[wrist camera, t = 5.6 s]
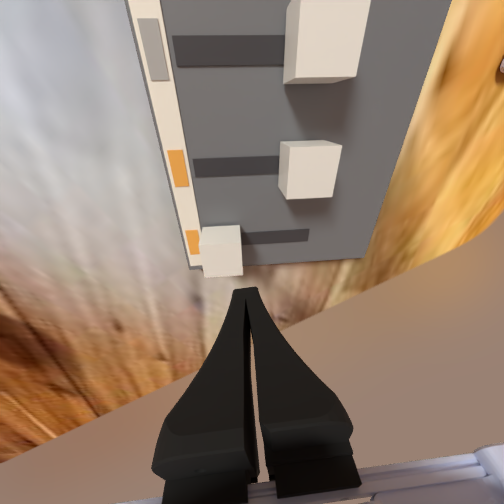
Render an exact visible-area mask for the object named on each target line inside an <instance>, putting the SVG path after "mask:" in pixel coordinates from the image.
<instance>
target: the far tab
mask: <svg viewBox="0 0 504 504" xmlns="http://www.w3.org/2000/svg"><path fill="white" fill-rule="evenodd" d="M198 246H199V251H200V256H201V261H202V266H203V272H204V277H205V278H209V277H223V276H237V275H243V266H242V250H241V235H240V225H231V226H214V227H203V228H202V232H201V237H200V241H199V245H198Z"/></svg>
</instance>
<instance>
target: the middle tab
mask: <svg viewBox="0 0 504 504" xmlns="http://www.w3.org/2000/svg"><path fill="white" fill-rule="evenodd" d="M341 150H342V145H339V144H336V143H333V142H329V141H326V140H309V141H281V142H280V158H279V179H278V187H279V189H280V190H281V192H282V193H283V195H284V196H285V198H286V199H305V198H324V197H332V195H333V190H334V185H335V180H336V175H337V170H338V165H339V160H340V155H341Z"/></svg>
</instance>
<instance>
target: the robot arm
mask: <svg viewBox="0 0 504 504" xmlns="http://www.w3.org/2000/svg"><path fill="white" fill-rule="evenodd" d="M500 71H501V72H502V73H504V59H503V61H502V63H501V66H500ZM250 328H251V330H250ZM251 334H252V339H253V344H254V356H255V369H256V382H257V395H258V408H259V422H260V427H261V432H262V437H263V441H264V450H265V460H266V467H267V469H268V474H269V480H270V481H269V482H262V483H257V482H258V479H257V477H258V475H259V473H260V470H259V459H258V449H257V439H256V427H255V416H254V405H253V396H252V395H253V394H252V384H251V383H252V382H251V357H250V356H251ZM352 432H353V425H352V422H351V420H350V418H349V416H348V414H347V412H346V410H345V409H344V407H343V405H342V404H341V402H340V400H339V399H338V397H337V396H336V394H335V393H334V392H333V391H332V390H331V389H329V388H328V387H327V386H326V385H325V384H324V383H323V382H322V381H321V380H320V379H319V378H318V377H317V376H316V375H315V374H314V372H312V370H311V369H310V368H309V367H308V366H307V365H306V364H305V363H304V362H303V360H302V359H301V358H300V357H299V356H298V355H297V354H296V352H294V350H293V349H292V347H291V346H290V345H289V344H288V342H287V341H286V340H285V338H284V337H283V336H282V334H281V333H280V331H279V330H278V328H277V327H276V325H275V323H274V322H273V320H272V319H271V317H270V315H269V313H268V311H267V310H266V308H265V306H264V304H263V302H262V299H261V297H260V294H259V291H258V288H257V287H249V288H241V289H234V290H233V294H232V299H231V302H230V306H229V309H228V312H227V315H226V317H225V320H224V323H223V325H222V328H221V330H220V332H219V335H218V337H217V339H216V341H215V343H214V345H213V347H212V349H211V351H210V353H209V354H208V356H207V358H206V360H205V361H204V363H203V365H202V367H201V368H200V370H199V372H198V373H197V375H196V376H195V378H194V379H193V381H192V382H191V384H190V385H189V387H188V388H187V390H186V391H185V393H184V394H183V395H182V397H181V398H180V399H179V401H178V402H177V403H176V405H175V406H174V408H173V409H172V410H171V411H170V413H169V414H168V415H167V417H166V418H165V420H164V423H163V425H162V428H161V431H160V434H159V437H158V440H157V444H156V448H155V453H154V458H153V462H152V467H151V469H152V471H153V472H154V473H155V474H156V475H158V476H160V477H161V478H163V479H164V480H166V481H165V487H164V492H163V497H156V498H149V499H142V500H135V501H127V502H120V503H114V504H323V503H329V502H336V501H343V500H351V499H357V498H364V497H371V496H372V497H371V499H370V502H365V503H361V504H504V442H503V443H497V444H490V445H485V446H482V447H479V448H477V449H476V450H474V452H473V453H467V454H460V455H453V456H445V457H439V458H431V459H424V460H418V461H410V462H403V463H397V464H389V465H382V466H375V467H368V468H361V469H357V468H356V465H355V462H354V459H353V456H352V455H353V450H352V448H351V445H350V442H349V438H350V436H351V434H352ZM251 483H255V484H251Z"/></svg>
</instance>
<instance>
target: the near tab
mask: <svg viewBox="0 0 504 504" xmlns="http://www.w3.org/2000/svg"><path fill="white" fill-rule="evenodd" d="M370 3H371V0H291V2H290V3H289V5H288V7H287V11H286V32H285V53H284V74H283V84H320V83H335V82H339V81H342V80H346V79H349V78H353V77H356V74H357V69H358V64H359V59H360V53H361V48H362V43H363V38H364V33H365V28H366V23H367V18H368V13H369V8H370Z"/></svg>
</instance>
